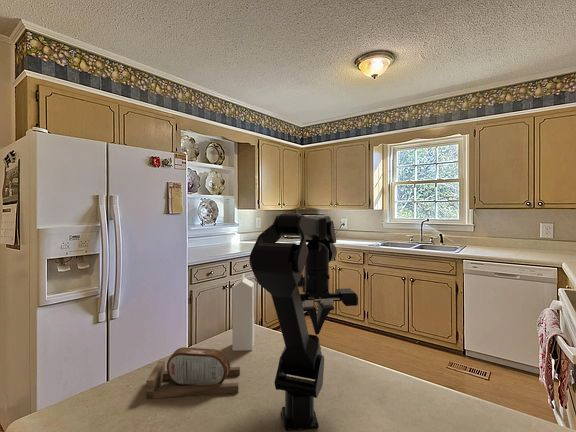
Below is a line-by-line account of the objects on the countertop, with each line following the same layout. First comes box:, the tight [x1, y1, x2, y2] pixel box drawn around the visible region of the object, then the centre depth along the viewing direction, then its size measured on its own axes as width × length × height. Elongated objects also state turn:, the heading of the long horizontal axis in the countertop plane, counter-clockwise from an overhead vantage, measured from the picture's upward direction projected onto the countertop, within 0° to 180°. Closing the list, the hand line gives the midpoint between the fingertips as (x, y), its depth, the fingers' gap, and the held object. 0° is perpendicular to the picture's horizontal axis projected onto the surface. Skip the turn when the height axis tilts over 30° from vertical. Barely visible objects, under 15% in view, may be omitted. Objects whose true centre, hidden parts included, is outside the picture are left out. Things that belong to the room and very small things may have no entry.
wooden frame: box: [145, 360, 241, 400], centre depth 74 cm, size 9×20×4 cm, turn 96°
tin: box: [166, 346, 231, 386], centre depth 74 cm, size 15×3×8 cm, turn 83°
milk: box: [231, 272, 255, 352], centre depth 95 cm, size 6×6×22 cm
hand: (316, 333), depth 74 cm, fingers closed
